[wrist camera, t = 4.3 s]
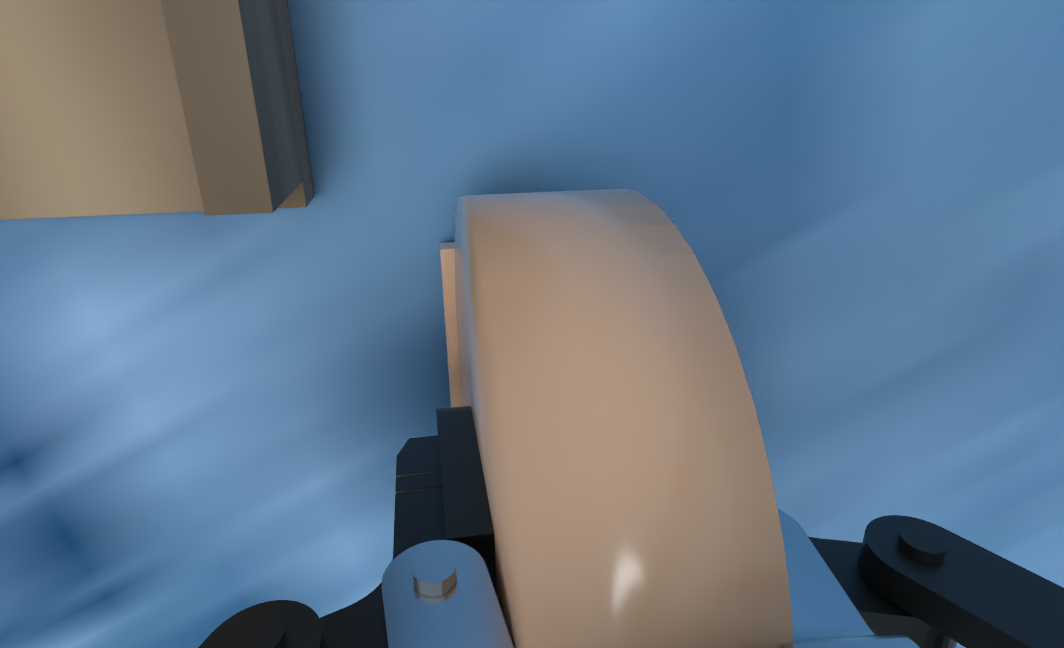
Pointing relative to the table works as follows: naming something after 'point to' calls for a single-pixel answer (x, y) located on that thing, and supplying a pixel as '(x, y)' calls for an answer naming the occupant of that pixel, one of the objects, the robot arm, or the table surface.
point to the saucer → (610, 428)
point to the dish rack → (149, 108)
